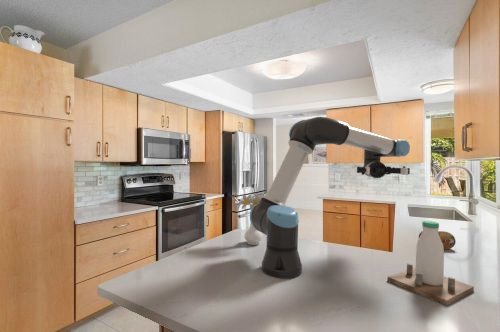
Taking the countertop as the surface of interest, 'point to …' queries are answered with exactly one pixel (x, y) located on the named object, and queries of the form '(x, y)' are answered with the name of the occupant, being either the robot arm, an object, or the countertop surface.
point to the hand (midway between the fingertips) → (387, 171)
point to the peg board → (431, 286)
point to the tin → (445, 239)
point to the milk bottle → (430, 255)
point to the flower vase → (252, 234)
